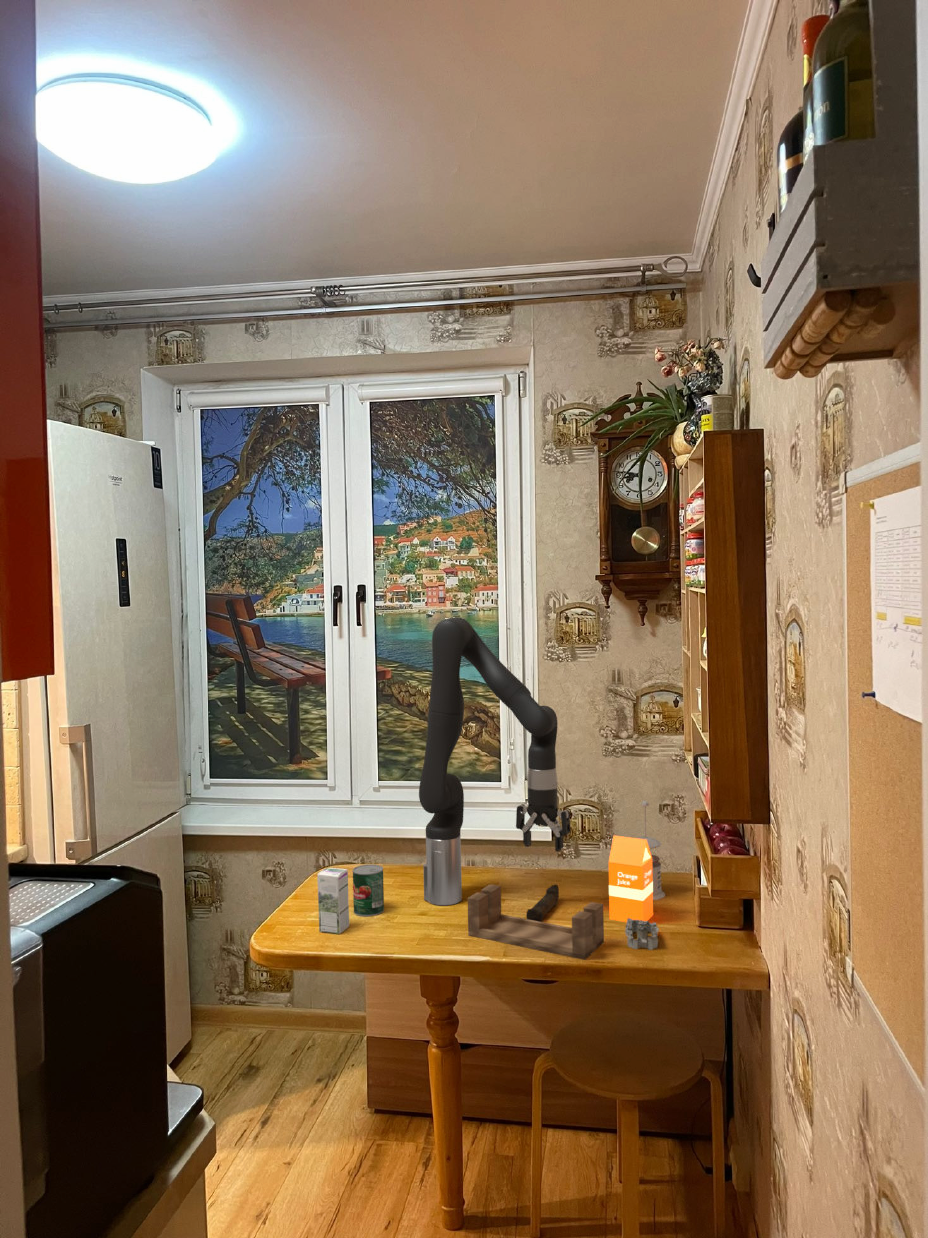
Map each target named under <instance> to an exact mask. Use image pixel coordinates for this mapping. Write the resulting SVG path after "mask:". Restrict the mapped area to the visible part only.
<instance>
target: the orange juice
mask: <svg viewBox="0 0 928 1238" xmlns="http://www.w3.org/2000/svg"><path fill="white" fill-rule="evenodd" d="M610 847H611V848H610V852H609V858H608V902H609V903H608V905H609V906H608V908H609V910H608V911H609V912H608V913H609V920H611V921H617V922H624V923H627V919H628V918H630V919H633V920H643V921H648V922H649V920H650V919H651V918H652V917H653V916H654V900H653V874H652V857H651V855H652V853H651V851H650V850H651V849H649V846H648V843H647V840H646V839H638V837H629V836H622V835H621V836H620V835H613V837H612V842H611V846H610Z"/></svg>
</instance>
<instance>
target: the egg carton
mask: <svg viewBox="0 0 928 1238" xmlns="http://www.w3.org/2000/svg"><path fill="white" fill-rule="evenodd" d="M624 933H625V935H626V937H627V948H628V947H629V948H632V949H634V950H638V949H639V948H640V949H641V948H645V949H647V950H648V951H649V950H650V951H653V950H655V949H658V944H659V940H658V939H659V938H658V933H659V927H658V926H657V923H656V922H655V921H653V922H649V920H648V921H643V920H633V919H630V918H628V919H627V922H626V923H625V929H624ZM634 933H636V935H637V939H634V936H633V934H634ZM649 933H650V934H651V936H648V934H649Z"/></svg>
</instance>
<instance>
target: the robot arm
mask: <svg viewBox="0 0 928 1238" xmlns="http://www.w3.org/2000/svg"><path fill="white" fill-rule="evenodd" d="M432 631H433V632H432V636H431V650H432V651H431V652H432V673H431V675H432V676H431V682H430V694H429V703H428V713H427V730H426V739H425V740H426V742H425V749H424V752H425V753H424V757H423V758H424V759H423V766H422V769H421V770H422V771H421V776H420V781H419V787H418V788H419V789H418V799H419V803H420V805H421V807H422V809H423V810H424V811H425V812H427V813H428V814H433V816H432V818H431V819H430V820H429V822H428V823H427V824H426V827H425V850H426V851H425V853H426V855H425V856H426V861H425V862H426V863H424V864H423V866H422V867H423V900H424V901H427V902H428V903H430V904H432V905H435V906H452V905H455V904H459V902H462V899H463V891H462V889H463V888H462V884H463V882H462V879H463V878H462V847H461V846H462V844H461V842H462V841H461V839H462V838H461V837H462V836H461V829H462V826H463V823H464V809H465V807H464V805H465V804H464V802H465V800H464V799H465V798H464V787H463V784H462V782H461V780H460V778H459V777H458V776H456V775H455V774H453V773H448V766H449V762H450V758H451V756H452V753H453V752H454V749H455V748H456V745H457V743H458V741H459V739H460V736H461V733H462V730H463V726H464V713H465V712H464V711H465V699H464V695H463V693H464V692H463V689H462V684H461V676H460V674H461V663H462V662H461V661H462V657H463V658H464V659H465V660H467V661H468V662H469V663H470V664H471V665H472V666H473V667H474V668H475V670H476V671H477V672H478V674H479V675H480V677H482V680H483V681H484V682H485V684H486V686H487V687H488V688H489V689H490V691H491V693H493V694H494V695H495V697H497V698H498V699H499V700H500V701H501V702H502V703H503V705H505V706H506V707H507V708H508V709H509V710H511V712H512V713H513V715H514V716H515V718H516V719H517V720H518V722H519V723H520V724H521V726H522V727H523V728H524V729H525V730H526V731H527V732H528V733H529V734H530V744H529V747H528V751H527V767H528V768H527V777H526V778H527V779H526V780H527V781H526V782H527V804H528V805H525V804H523V803H522V804H520V805H518V806H516V815H515V816H516V817H515V818H516V819H515V828H516V829H517V830H520V831H522V837H523V838H522V839H523V841H522V842H523V844H524V847H527V848H529V847H531V846H532V830H531V829H532V828H533V826H534V825H535V826H540V825H541V826H543V827H549V829H550V830H551V831H552V832H553V833H554V835H555V837H554V841H555V842H554V844H555V846H554V847H555V848H554V850H555V852H560V851H561V850H562V849H563V848H564V836H565V837H566V836H567V835H568V834H570V833H571V831H572V830H571V818H570V810H569V809H565V810H559V808H558V775H557V774H558V773H557V768H556V767H557V761H556V760H557V757H556V756H557V754H556V746H557V737H558V736H557V735H558V717H557V713H556V712H555V710H554V709H553V708H552V707H550V706H548V705H540V704H539V703H538V702H537V701H536V700H535V699H534V698H533V697H532V693H531V691H530V690H529V688H528V687H527V686H526V685H525V684H524V683H523V682H522V681H521V680H519V678H517V677H516V675H514V673H512V672H511V671H510V670H509V669H508V668H507V667H506V666H505V665H504V663H502V661H501V660H499V658H498V657H497V656H496V655H495V653H493V651H491V649H490V648H489V646H487V645H486V643H485V642H484V641H483V640H482V638H481V637H480V635H479V633H477V631H476V630H475V629H474V627H473V626H472V624H471V623H470V622H469V621H467V619H465V618H462V617H459V616H458V617H457V616H456V617H450V618H445V619H443V620H440V622H438V623H437V624H436V625H435V627H434V629H433V630H432ZM526 814H528V815H529V818H528V820H527V821H526V820H525V819H526V818H525V817H526ZM558 816H559V817H558ZM557 817H558V818H559V819H560V821H561V823H560V822H559V820H558V818H557ZM525 821H526V822H525Z"/></svg>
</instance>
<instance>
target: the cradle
mask: <svg viewBox="0 0 928 1238" xmlns="http://www.w3.org/2000/svg"><path fill="white" fill-rule="evenodd" d="M604 918H605V917H604V903H599V902H594V901H591V902H589V903H588V904H586V906H584V907H583V910H579V911H578V912H577V913H576V914H574V915H573V916H571V927H570V926H564V925H559V924H554V923H550V922H549V923H548V922H545V921H541V922H539V921H534V920H529V919H527V918H525V917H524V918H523V917H519V916H518V917H517V916H512V915H507V914H503V913H502V887H501V885H496V884H489V885H487V886H485V887H483V888H482V889H480V892H479V891H477V892H475V893H473V894H472V895H470V896H469V897H467V926H468V927H467V931H468V933H467V934H468V936H470V937H474V938H479V939H484V940H490V941H494V942H498V943H503V944H509V945H513V946H517V947H521V948H527V949H531V950H537V951H542V952H545V953H550V954H551V953H552V954H556V955H561V956H566V957H569V958H575V959H578V960H585V961H586V959H588V958H589V957H590V956H591V955H592V954H593V953H594V952H595V951H596V950H598V948H600V947H601V946H602V945H603V944H604V943H605V934H604V933H605V931H604V927H605V925H604V921H605V920H604Z"/></svg>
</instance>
